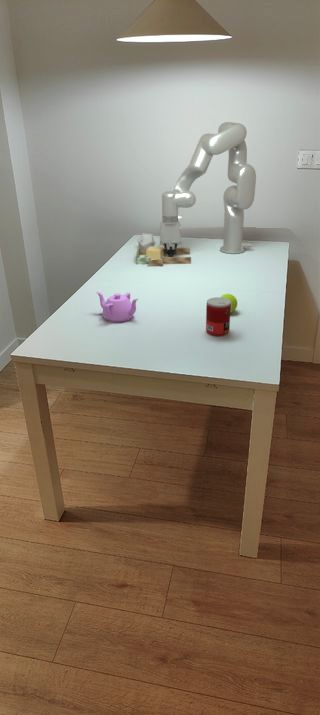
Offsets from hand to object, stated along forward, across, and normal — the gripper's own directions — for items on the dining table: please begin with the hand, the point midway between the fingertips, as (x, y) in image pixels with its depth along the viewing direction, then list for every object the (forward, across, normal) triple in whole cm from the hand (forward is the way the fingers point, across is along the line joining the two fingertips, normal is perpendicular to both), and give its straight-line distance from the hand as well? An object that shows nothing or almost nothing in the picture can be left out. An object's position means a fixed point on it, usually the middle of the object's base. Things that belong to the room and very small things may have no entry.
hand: (170, 256), depth 251 cm
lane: (+1, +4, 0) cm, 4 cm away
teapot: (+1, +19, +72) cm, 75 cm away
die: (+1, +13, -18) cm, 22 cm away
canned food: (+1, -16, +86) cm, 87 cm away
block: (+1, +8, -3) cm, 8 cm away
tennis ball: (+1, -21, +69) cm, 72 cm away
